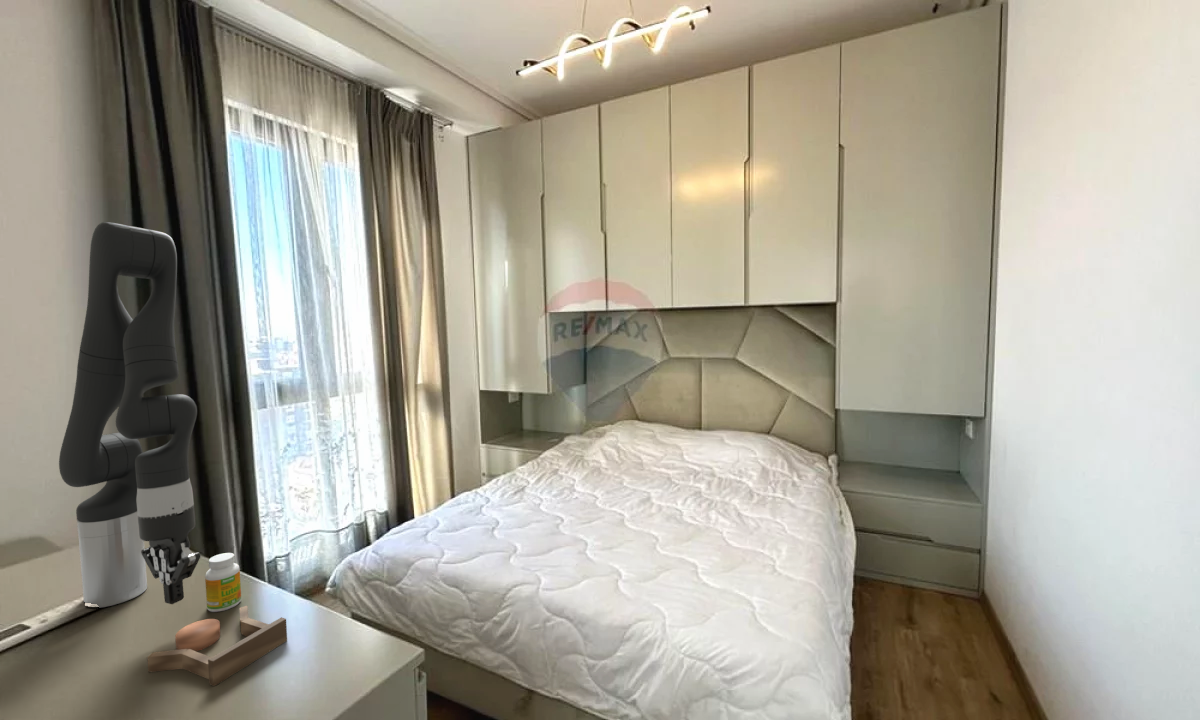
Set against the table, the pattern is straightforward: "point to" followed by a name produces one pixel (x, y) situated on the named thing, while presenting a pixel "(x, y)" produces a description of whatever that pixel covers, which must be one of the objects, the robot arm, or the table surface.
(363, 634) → the table surface
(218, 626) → the salmon orange rounded piece
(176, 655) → the dock
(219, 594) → the supplement bottle
